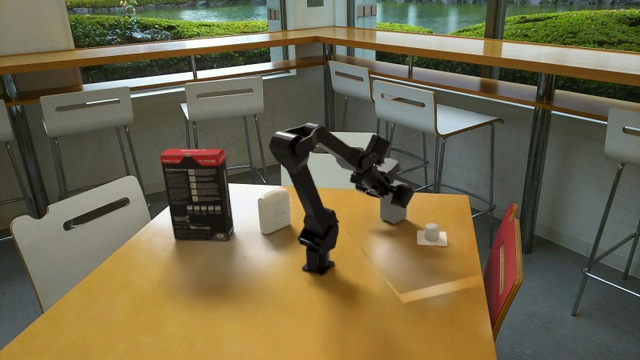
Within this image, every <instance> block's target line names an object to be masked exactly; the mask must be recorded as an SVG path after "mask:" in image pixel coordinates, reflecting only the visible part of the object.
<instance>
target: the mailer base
mask: <svg viewBox="0 0 640 360" xmlns="http://www.w3.org/2000/svg"><path fill="white" fill-rule="evenodd" d="M416 236H417V237H416V238H417V239H416V240H417V241H416V244H417V245H418V246H419V245H422V246H423V245H424V246H439V247H440V246H441V247H442V246H443V247H448V241H447V240H448V239H447V232H446V231H441V226H440V225H439V224H437V223H434V222H433V223H426V224H425V226H424V230H419V229H417V231H416Z"/></svg>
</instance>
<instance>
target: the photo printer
mask: <svg viewBox="0 0 640 360" xmlns="http://www.w3.org/2000/svg"><path fill="white" fill-rule="evenodd" d="M290 203H291V202H290V194H289V192H288V190H287V189H285V188H275V189H272V190H269V191H267V192H265V193H264V194H262V195H261V196H260V197H259V198H258V199H257V207H258V208H257V209H258V220H259V229H260V232H261V233H262V234H264V235H268V234H272V233H273V232H276V231H279V230H281V229H283V228H286V227H288V226H290V225H291V224H292V223H291V220H292V219H291V205H290Z"/></svg>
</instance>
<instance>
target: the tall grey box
mask: <svg viewBox="0 0 640 360" xmlns="http://www.w3.org/2000/svg"><path fill="white" fill-rule="evenodd" d="M400 184H405V185H408V183H405V182H402V181H399V180H397V179H394V182H393V184H391V185H393V186H396V185H400ZM395 190H396V189H395ZM392 197H393V196H392V194H390V193H389V195H388V196H384V197H383V198H382V197H380V198H379V205H380V206H379V216H380V217H379V218H380V219H381V220H384V221H387V222H389V223H390V224H394V225H396V224H397V223H399V222H401V221H403V220H405V219H407V218H408V217H407V216H408V215H407V214H408V213H407V212H408V206H407V207H406V208H401V207H398V206H395V205H393V204H390V202H391V200H392Z"/></svg>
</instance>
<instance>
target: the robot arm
mask: <svg viewBox="0 0 640 360" xmlns="http://www.w3.org/2000/svg"><path fill="white" fill-rule="evenodd" d="M317 146H318V147H319V148H320V149H323V150H324V152H327V153H329V155H331V156H333V157H334V158H335V161H336V163H337V164H338V166H340V167H341V168H342V169H344V170H347V171H352V173H351V174H350V178H349V182H350V183H351V184H353V185H354V187H355V188H354V189H355V190H356V191H357V192H359V193H361V194H364V195H367V196H369V197H373V198H377V199H380V197H382V198H383V197H384V196H388V195H389V193H390V194H392V196H393V197H392V200H391V202H390V204H393V205H395V206H398V207H401V208H406V207H407V208H408V205H409V204H410V202H411V200H412V198H413V197H414V194H415V189H414V187H412V186H410V185H409V184H407V185H405V184H406V183H405V184H400V185H396V186H393V185H391V184H393V182H394V180H395V179H394V178H395V177H396V176H397V174H399V173H400V172H401V171H402V168H401V165H400V163H399V161H398V160H397V159H394V158H391V157H386V156H387V154H388V152H389V150H390V149H391V147H392V143H391V141H389V140H387V139H385V137H384V138H383V137H382V136H380V135H379V134H376V133H375V134H374V133H372V135H371V137H370V140H369V142H368V144H367V146H366V148H365V150H363V149H359V148H355V147H354V146H353V147H352V146H350V145H348V144H347V143H346V142H344V141H343V140H341V139H340V138H338V137H337V136H336V135H335V134H333V133H332V132H331V131H329V130H328V129H327V128H326V127H325V126H324V125H322V124H319V123H314V122H307V123H304V124H302V125H300V126H296V127H292V128H288V129H285V130H279V131H277V132H275V133H273V135H272V136H271V139H270V141H269V143H268V147H269V152H270V153H271V155H272V156H273V157H274V159H275V161H277V162H278V163H279V164H280V165H281V166H282V167H283V168H284V169H285V170H286V171H287V173H288V175H289V179H290V180H291V183H292V185H293V188H294V190H295V193H296V195H297V197H298V199H299V201H300V204H301V207H302V208H303V211H304V213H305V214H304V217H303V219H302V220H303V225H304V226H303V227H302V229H301V232H299V234H298V235H299V236H297V241H298V243H299V245H300V246H304V247H305V259H306V263H305V264H303V266H302V267H301V269H302V271H307V272H309V273H314V274H317V275H320V276H323V275H325V274H326V273H327V272H328V271H329V270H330V269H331V268H332V267H333V266H335V263H336V262H335V261H334V260H330V259H331V257H330V256H331V255H330V251H333V250H334V249H335V248H336V246H337V242H338V237H339V230H340V227H339V223H340V221H339V220H338V217H337V214H336V211H335V210H334V209H331V208H329V207H326V206H325V205H324V203H323V201H322V199H321V196H320V193H319V191H318V188H317V186H316V184H315V181H314V178H313V175H312V173H311V171H310V168H309V165H308V161H309V159H310V153H311V152H313V151H314V150H316V148H317ZM395 189H396V190H395Z"/></svg>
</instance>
